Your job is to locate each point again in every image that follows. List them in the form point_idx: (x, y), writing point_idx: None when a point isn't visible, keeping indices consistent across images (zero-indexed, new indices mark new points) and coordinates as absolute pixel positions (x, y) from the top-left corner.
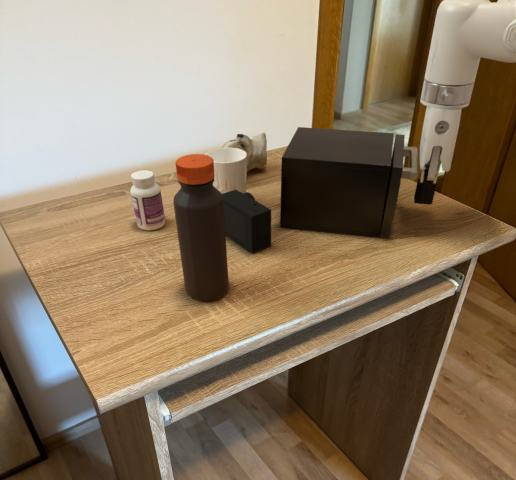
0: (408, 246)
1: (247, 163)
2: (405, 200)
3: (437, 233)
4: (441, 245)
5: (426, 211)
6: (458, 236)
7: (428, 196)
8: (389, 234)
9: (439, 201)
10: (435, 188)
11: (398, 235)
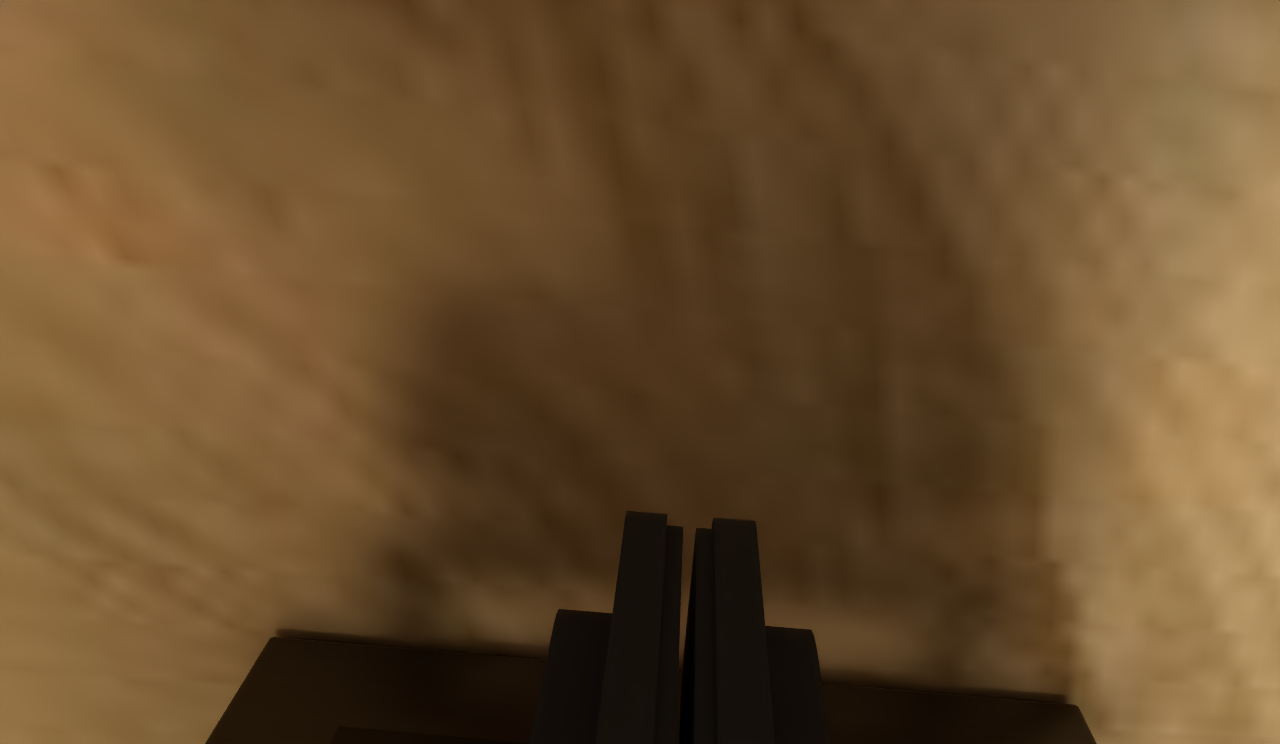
0: (1236, 567)
1: None
2: (219, 521)
3: (966, 278)
4: (1267, 263)
5: (419, 344)
6: (1052, 23)
7: (817, 684)
8: (1091, 736)
9: (79, 168)
10: (771, 712)
11: (1006, 626)
